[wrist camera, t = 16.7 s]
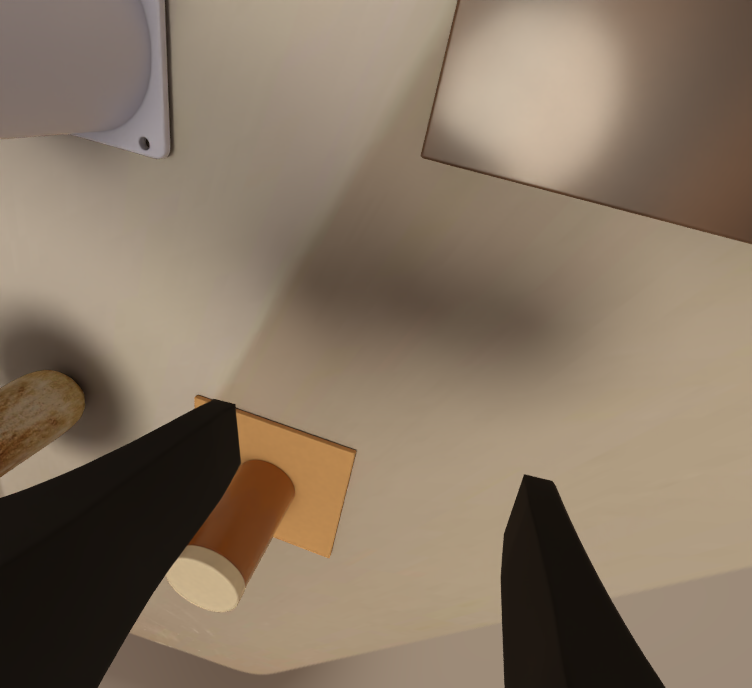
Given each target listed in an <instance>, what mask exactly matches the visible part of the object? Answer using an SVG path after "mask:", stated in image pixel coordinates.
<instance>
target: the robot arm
mask: <svg viewBox="0 0 752 688" xmlns="http://www.w3.org/2000/svg"><path fill="white" fill-rule="evenodd" d="M61 134H70V135H74V136H77V137H81V138H85V139H88V140H92V141H95V142H99V143H102V144H106V145H109V146H113V147H116V148H120V149H123V150H127V151H130V152H134V153H138V154H141V155H145V156H148V157H152V158H155V159H162V158H166V157H168V155H169V154H170V126H169V100H168V73H167V47H166V20H165V0H0V139H11V138H23V137H36V136H48V135H61ZM145 139H147V140H148V141H149V144H150V147H149V148H148V147H147V145H146V143H145ZM240 464H241V457H240V447H239V436H238V426H237V416H236V406H235V404H232V403H228V402H224V401H220V400H216V399H213V400H211V401H209V402H207V403H205V404H203V405H201V406H199V407H197V408H195V409H193V410H191V411H190V412H188V413H186V414H184V415H182V416H180V417H178V418H176V419H175V420H173V421H171V422H169V423H167V424H165V425H163V426H162V427H160V428H158V429H156V430H154V431H152V432H150V433H148V434H146V435H144V436H142V437H141V438H139V439H137V440H135V441H133V442H131V443H129V444H127V445H125V446H123V447H121V448H119V449H116V450H114V451H112V452H110V453H108V454H106V455H104V456H102V457H100V458H98V459H96V460H94V461H92V462H89V463H87V464H85V465H83V466H81V467H79V468H76V469H74V470H72V471H69V472H67V473H65V474H62V475H60V476H58V477H55V478H53V479H50V480H48V481H45V482H43V483H40V484H38V485H35V486H33V487H30V488H28V489H25V490H22V491H20V492H17V493H14V494H11V495H8V496H5V497H2V498H0V688H98V686H99V684H100V682H101V681H102V679H103V677H104V675H105V673H106V672H107V670H108V668H109V666H110V665H111V663H112V661H113V659H114V658H115V656H116V654H117V652H118V651H119V649H120V647H121V646H122V644H123V642H124V640H125V639H126V637H127V635H128V633H129V632H130V630H131V629H132V627H133V625H134V624H135V622H136V620H137V619H138V617H139V615H140V614H141V612H142V610H143V609H144V607H145V605H146V604H147V602H148V600H149V599H150V597H151V596H152V594H153V592H154V591H155V590H156V588H157V587H158V585H159V584H160V582H161V581H162V579H163V578H164V576H165V575H166V574H167V572H168V571H169V569H170V568H171V567H172V565H173V564H174V563H175V561H176V560H177V559H178V557H179V556H180V555H181V553H182V552H183V551H184V549H185V548H186V546H187V545H188V544H189V542H190V541H191V540H192V538H193V537H194V536H195V534H196V533H197V532H198V530H199V529H200V528H201V526H202V525H203V523H204V522H205V521H206V519H207V518H208V517H209V515H210V514H211V512H212V511H213V510H214V508H215V507H216V505H217V504H218V503H219V501H220V500H221V498H222V497H223V495H224V493H225V492H226V490H227V488H228V486H229V485H230V483H231V481H232V479H233V477H234V475H235V474H236V472H237V470H238V468H239V466H240ZM501 603H502V631H503V657H504V684H505V688H665V686H664V685H663V683H662V682H661V680H660V678H659V677H658V675H657V674H656V672H655V671H654V670H653V668H652V667H651V665H650V663H649V662H648V660H647V659H646V657H645V656H644V654H643V652H642V651H641V649H640V648H639V646H638V645H637V643H636V641H635V640H634V638H633V636H632V635H631V633H630V631H629V630H628V628H627V626H626V625H625V623H624V621H623V619H622V618H621V616H620V614H619V613H618V611H617V609H616V607H615V606H614V604H613V603H612V601H611V599H610V597H609V595H608V593H607V591H606V590H605V588H604V586H603V584H602V582H601V580H600V579H599V577H598V575H597V573H596V571H595V569H594V567H593V565H592V563H591V561H590V559H589V557H588V555H587V554H586V552H585V550H584V547H583V545H582V543H581V541H580V539H579V537H578V535H577V533H576V531H575V529H574V527H573V524H572V522H571V520H570V518H569V516H568V513H567V511H566V509H565V507H564V504H563V502H562V500H561V497H560V495H559V493H558V490H557V488H556V486H555V484H554V483H553V481H550V480H546V479H541V478H537V477H533V476H529V475H525V474H524V476H523V479H522V482H521V485H520V488H519V491H518V494H517V497H516V500H515V503H514V506H513V509H512V512H511V515H510V518H509V521H508V524H507V527H506V529H505V532H504V541H503V553H502V567H501Z"/></svg>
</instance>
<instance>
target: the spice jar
mask: <svg viewBox="0 0 752 688" xmlns="http://www.w3.org/2000/svg"><path fill="white" fill-rule="evenodd" d="M294 497H295V488H294V485H293V483H292V481H291V479H290V478H289V477H288V475H287V474H286V473H285V472H284V471H282V470H281V469H280V468H279V467H277V466H275V465H273V464H271V463H269V462H266V461H262V460H249V461H246V462H244V463H242V464H241V465H240V466H239V468H238V470H237V472H236V474H235V475H234V477H233V479H232V481H231V483H230V485H229V486H228V488H227V490H226V492H225V493H224V495H223V497H222V498H221V500H220V501H219V503H218V504H217V505H216V507H215V508H214V510H213V511H212V512H211V514H210V515H209V517H208V518H207V519H206V521H205V522H204V523H203V525H202V526H201V528H200V529H199V530H198V532H197V533H196V534H195V536H194V537H193V538H192V540H191V541H190V542H189V544H188V545H187V546H186V548H185V549H184V551H183V552H182V553H181V555H180V556H179V557H178V559H177V560H176V561H175V563H174V564H173V565H172V567H171V568H170V569H169V571H168V572H167V574H166V575H165V576H166V578H167V580H168V582H169V584H170V585H171V586H172V587H173V589H174V590H175V591H176V592H177V593H178V594H180V595H181V596H182V597H183V598H185V599H186V600H188V601H189V602H191V603H192V604H194V605H196V606H198V607H201V608H203V609H206V610H209V611H214V612H228V611H231V610H233V609H234V608H235V607H236V606H237V605H238V603H239V601H240V599H241V597H242V595H243V594H244V591H245V588H246V586H247V584H248V582H249V581H250V579H251V577H252V575H253V573H254V571H255V569H256V568H257V566H258V564H259V562H260V560H261V558H262V557H263V555H264V553H265V551H266V549H267V547H268V546H269V544H270V542H271V540H272V538H273V536H274V535H275V533H276V531H277V529H278V527H279V525H280V524H281V522H282V520H283V518H284V516H285V514H286V512H287V511H288V509H289V507H290V505H291V503H292V501H293V499H294Z"/></svg>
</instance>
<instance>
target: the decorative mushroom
mask: <svg viewBox="0 0 752 688" xmlns="http://www.w3.org/2000/svg"><path fill="white" fill-rule="evenodd" d="M84 408H85V399H84V393H83V390H82V389H81V388H80V387H79V385H78V384H77V383H76V382H75V381H74V380H73V379H71V378H70V377H68V376H67V375H65V374H63V373H60V372H57V371H52V370H41V371H36V372H33V373H29V374H26V375H24V376H22V377H20V378H18V379H16V380H14V381H12V382H10V383H8V384H7V385H5V386H3V387H1V388H0V477H2V476H3V475H4V474H6V473H7V472H8V471H10V470H11V469H13V468H14V467H16V466H18V465H19V464H20V463H22V462H23V461H25V460H26V459H28V458H29V457H31V456H32V455H34V454H35V453H37V452H38V451H39V450H41V449H42V448H44V447H45V446H47V445H48V444H50V443H51V442H53V441H54V440H56V439H57V438H58V437H60V436H61V435H62V434H64V433H65V432H66V431H67V430H69V429H70V428H71V427H72V426H73V425H74V424H75V423H76V422H77V421H78V420H79V419H80V418H81V416H82V414H83V410H84Z"/></svg>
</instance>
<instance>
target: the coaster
mask: <svg viewBox="0 0 752 688" xmlns="http://www.w3.org/2000/svg"><path fill="white" fill-rule="evenodd" d="M209 401H211V400H210V399H208V398H205V397H202V396H199V395H197V396H196V397H195V408H197V407H199V406H201V405H203V404H205V403H207V402H209ZM236 416H237V426H238V436H239V447H240V457H241V464H242V463H244V462H246V461H249V460H262V461H266V462H269V463H271V464H273V465H275V466H277V467H279V468H280V469H281V470H282V471H284V472H285V473H286V474H287V475H288V477H289V478H290V479H291V481H292V483H293V485H294V488H295V497H294V499H293V501H292V503H291V505H290V507H289V509H288V511H287V512H286V514H285V516H284V518H283V520H282V522H281V524H280V525H279V527H278V529H277V531H276V533H275V535H274V536H273V537H275V538H277V539H280V540H283V541H285V542H288V543H290V544H293V545H296V546H298V547H301V548H303V549H306V550H308V551H311V552H314V553H316V554H319V555H321V556H324V557H327V558H330V555H331V551H332V547H333V543H334V539H335V535H336V531H337V527H338V523H339V519H340V515H341V511H342V507H343V503H344V499H345V495H346V491H347V487H348V483H349V479H350V475H351V471H352V467H353V463H354V459H355V455H356V450H353V449H350V448H347V447H344V446H341V445H338V444H336V443H333V442H330V441H327V440H324V439H321V438H319V437H316V436H313V435H310V434H307V433H304V432H301V431H299V430H296V429H293V428H290V427H287V426H284V425H282V424H279V423H276V422H273V421H270V420H267V419H264V418H262V417H259V416H256V415H253V414H250V413H247V412H245V411H242V410H239V409H236ZM241 464H240V465H241Z"/></svg>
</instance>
